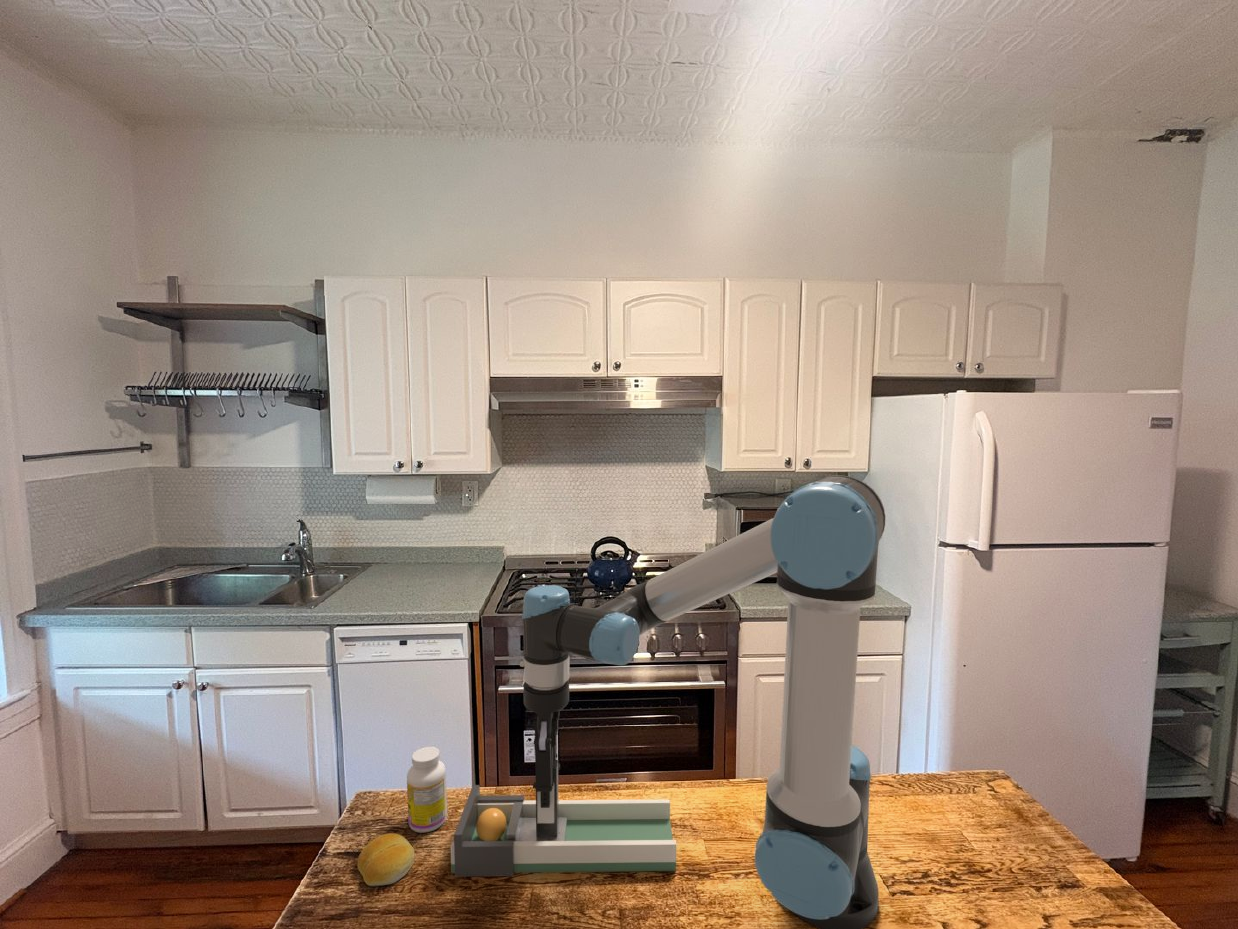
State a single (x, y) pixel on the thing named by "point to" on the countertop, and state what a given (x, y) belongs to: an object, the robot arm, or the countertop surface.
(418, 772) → the supplement bottle
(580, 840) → the board
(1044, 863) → the countertop surface
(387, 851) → the bread roll
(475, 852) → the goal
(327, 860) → the countertop surface
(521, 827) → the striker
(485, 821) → the ball
